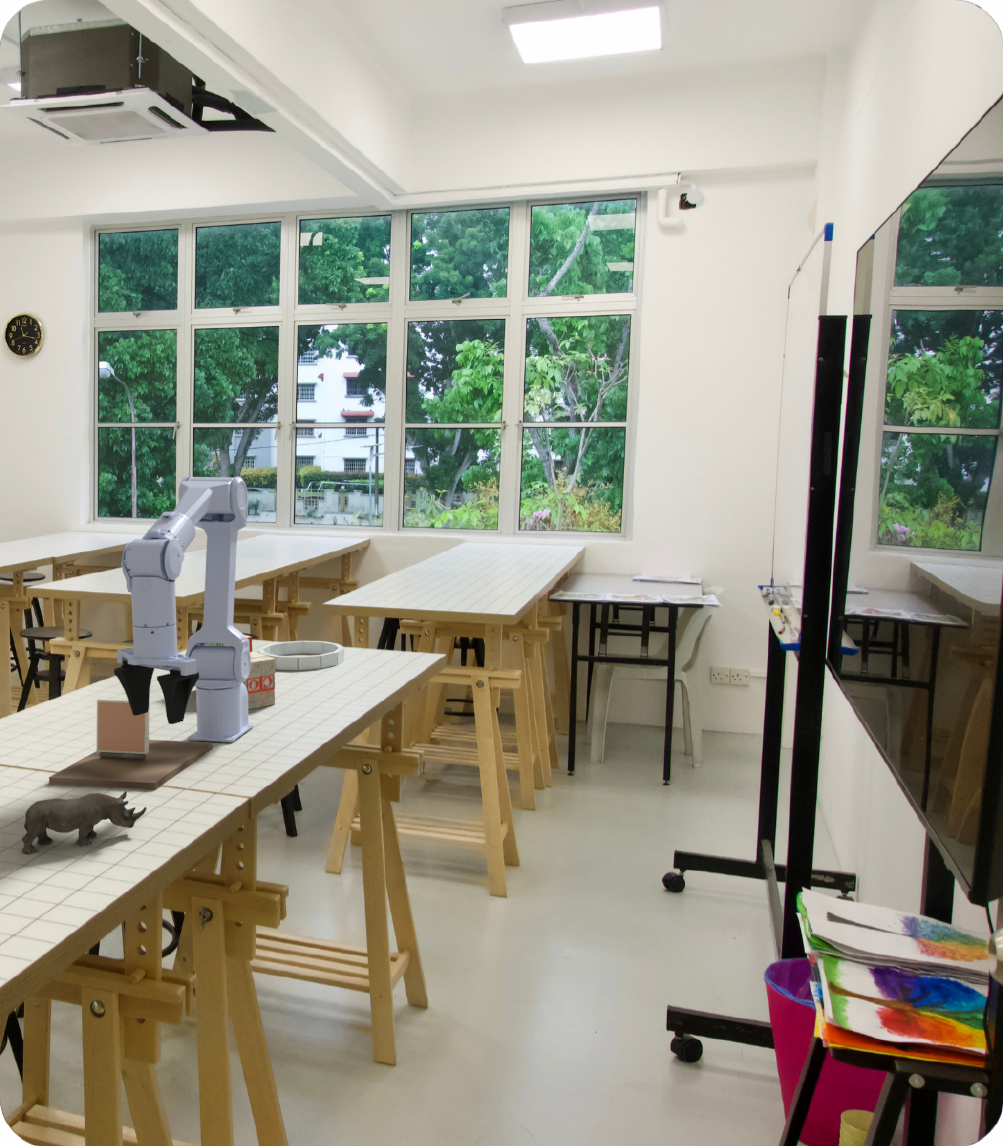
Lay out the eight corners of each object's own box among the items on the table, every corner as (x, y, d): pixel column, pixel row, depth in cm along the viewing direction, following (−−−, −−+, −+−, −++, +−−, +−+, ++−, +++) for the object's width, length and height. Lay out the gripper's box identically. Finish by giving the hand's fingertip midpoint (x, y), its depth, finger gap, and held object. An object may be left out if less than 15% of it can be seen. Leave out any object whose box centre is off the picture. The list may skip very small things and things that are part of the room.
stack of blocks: (276, 705, 166) (275, 643, 164) (246, 710, 161) (245, 647, 160) (225, 685, 181) (224, 628, 180) (197, 689, 177) (195, 631, 175)
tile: (100, 698, 131) (96, 699, 130) (149, 700, 130) (146, 701, 129) (99, 750, 131) (96, 751, 130) (148, 752, 130) (145, 754, 129)
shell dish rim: (277, 651, 215) (276, 639, 215) (352, 654, 213) (352, 642, 213) (245, 668, 196) (245, 655, 196) (328, 671, 194) (328, 658, 194)
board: (119, 744, 140) (119, 732, 140) (212, 748, 139) (212, 736, 138) (49, 783, 122) (48, 770, 122) (155, 789, 120) (154, 776, 120)
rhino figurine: (148, 838, 105) (146, 791, 104) (20, 858, 99) (17, 808, 98) (146, 825, 108) (145, 780, 108) (23, 844, 102) (21, 796, 102)
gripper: (96, 623, 120) (100, 716, 121) (165, 634, 112) (168, 733, 114) (139, 616, 126) (143, 705, 127) (207, 626, 119) (210, 720, 120)
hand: (158, 717), depth 121 cm, fingers open, 7 cm apart
